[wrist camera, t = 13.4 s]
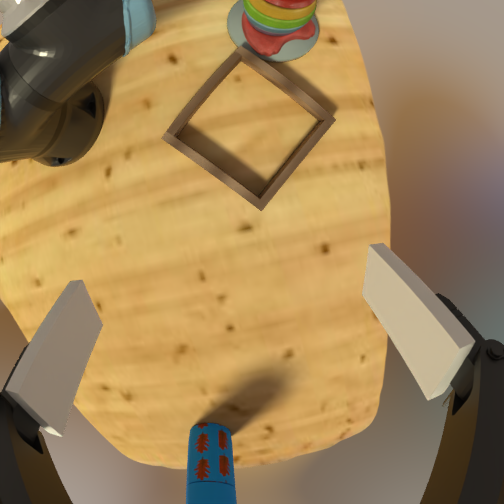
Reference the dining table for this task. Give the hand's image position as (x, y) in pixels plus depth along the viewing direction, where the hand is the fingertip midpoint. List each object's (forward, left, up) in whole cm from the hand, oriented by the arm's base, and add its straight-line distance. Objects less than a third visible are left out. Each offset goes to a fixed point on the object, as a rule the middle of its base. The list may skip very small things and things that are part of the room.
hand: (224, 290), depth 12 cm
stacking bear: (-11, +26, -29) cm, 41 cm away
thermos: (+31, -50, -30) cm, 66 cm away
